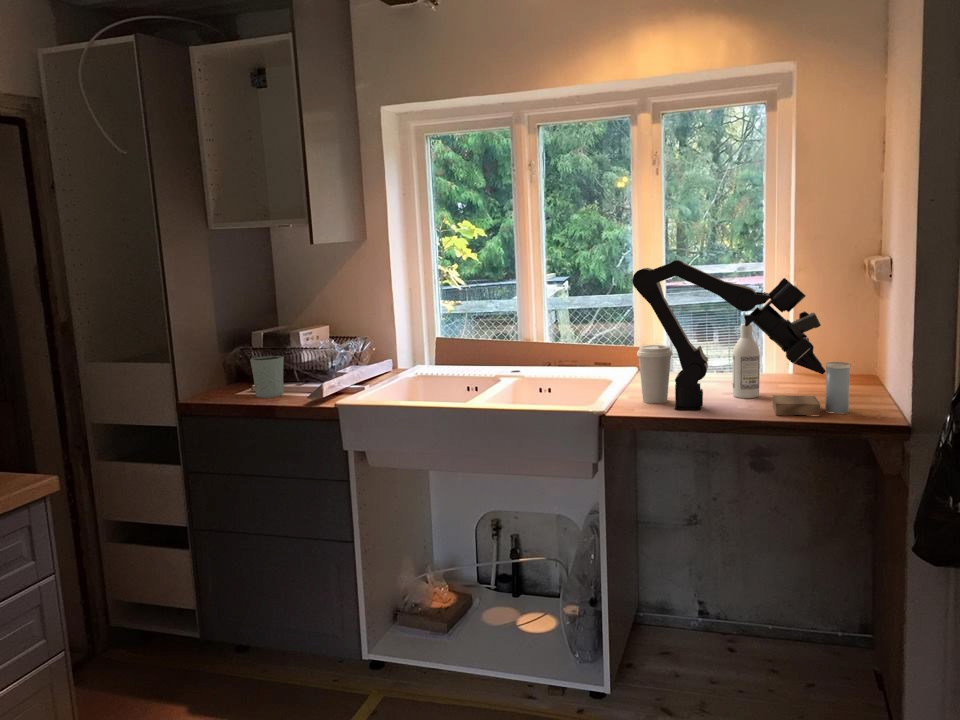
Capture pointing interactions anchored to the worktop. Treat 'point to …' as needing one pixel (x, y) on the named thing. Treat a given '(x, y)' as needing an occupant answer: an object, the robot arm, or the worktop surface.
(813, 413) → the base block
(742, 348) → the bath foam
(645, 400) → the coffee cup
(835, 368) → the canister
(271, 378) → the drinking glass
